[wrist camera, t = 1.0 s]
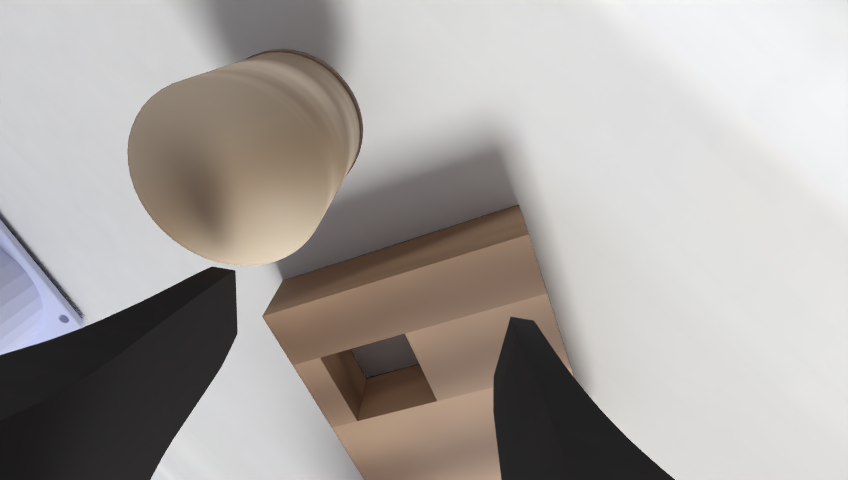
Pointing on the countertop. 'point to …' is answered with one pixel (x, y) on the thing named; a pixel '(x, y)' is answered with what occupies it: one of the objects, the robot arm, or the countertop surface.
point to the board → (417, 344)
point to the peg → (246, 155)
